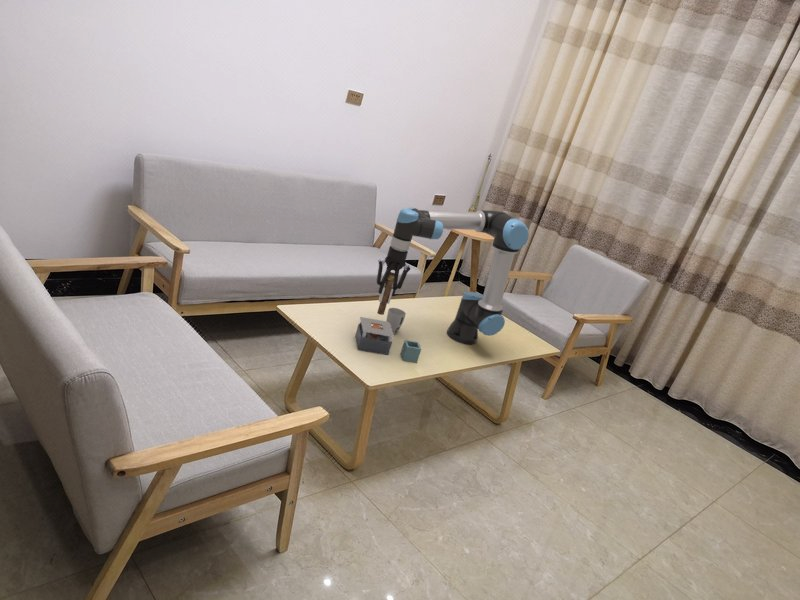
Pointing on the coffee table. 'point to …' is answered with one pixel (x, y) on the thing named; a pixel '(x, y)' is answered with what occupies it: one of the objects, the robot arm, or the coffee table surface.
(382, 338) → the grey square box
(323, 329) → the coffee table surface
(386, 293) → the brown square bar
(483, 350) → the coffee table surface
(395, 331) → the cup
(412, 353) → the holder
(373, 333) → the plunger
